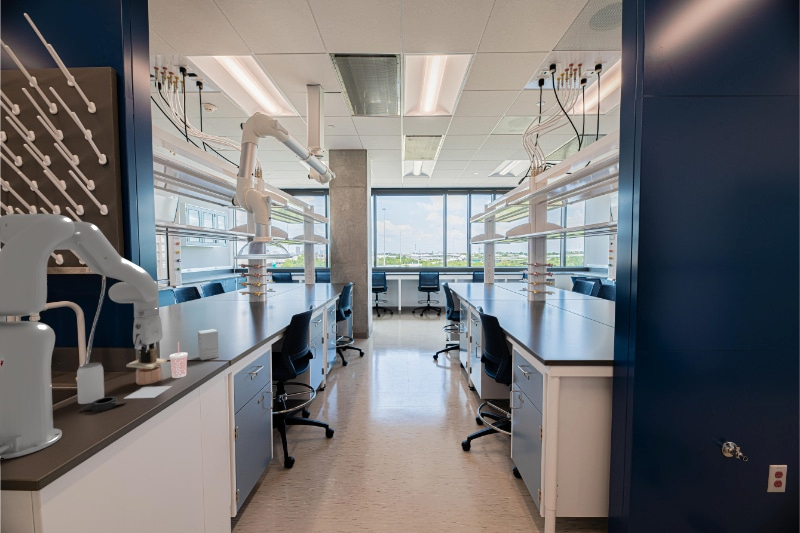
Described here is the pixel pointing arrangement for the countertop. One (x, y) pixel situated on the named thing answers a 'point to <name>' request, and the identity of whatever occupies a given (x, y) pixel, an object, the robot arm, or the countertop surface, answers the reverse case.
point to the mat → (148, 392)
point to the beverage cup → (178, 364)
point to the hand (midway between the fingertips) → (148, 361)
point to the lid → (151, 365)
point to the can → (90, 383)
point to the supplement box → (208, 344)
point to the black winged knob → (102, 404)
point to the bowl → (148, 375)
